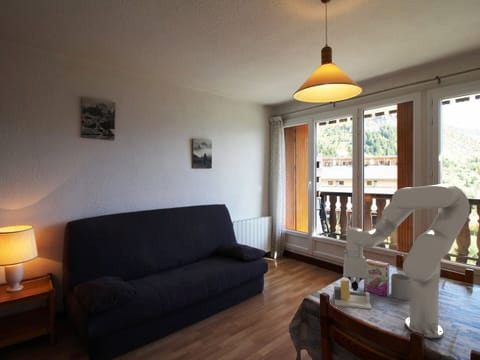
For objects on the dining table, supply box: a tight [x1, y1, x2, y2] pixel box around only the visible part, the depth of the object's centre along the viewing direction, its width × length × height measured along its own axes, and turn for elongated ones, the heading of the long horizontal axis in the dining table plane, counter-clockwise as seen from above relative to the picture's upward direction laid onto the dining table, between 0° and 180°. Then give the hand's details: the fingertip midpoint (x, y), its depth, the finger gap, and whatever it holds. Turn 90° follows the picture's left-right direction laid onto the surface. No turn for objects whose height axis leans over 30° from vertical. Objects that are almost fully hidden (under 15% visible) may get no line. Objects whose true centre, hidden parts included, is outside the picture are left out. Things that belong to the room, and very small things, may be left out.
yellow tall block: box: [339, 279, 351, 299], centre depth 126 cm, size 4×4×8 cm
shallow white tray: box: [333, 285, 373, 310], centre depth 126 cm, size 11×16×6 cm
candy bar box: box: [363, 258, 390, 298], centre depth 134 cm, size 11×5×16 cm, turn 47°
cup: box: [390, 273, 410, 301], centre depth 130 cm, size 8×8×10 cm
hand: (354, 289), depth 125 cm, fingers closed
